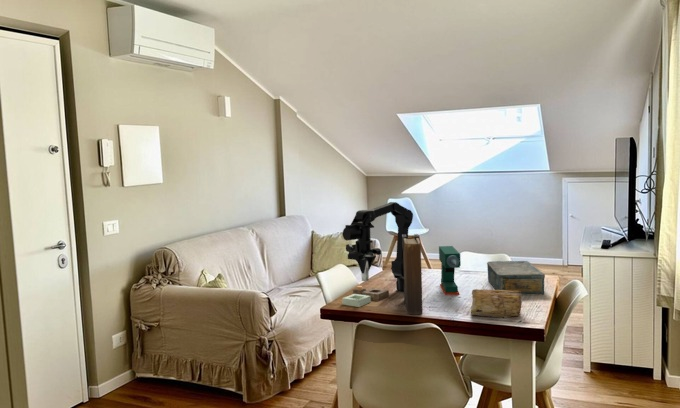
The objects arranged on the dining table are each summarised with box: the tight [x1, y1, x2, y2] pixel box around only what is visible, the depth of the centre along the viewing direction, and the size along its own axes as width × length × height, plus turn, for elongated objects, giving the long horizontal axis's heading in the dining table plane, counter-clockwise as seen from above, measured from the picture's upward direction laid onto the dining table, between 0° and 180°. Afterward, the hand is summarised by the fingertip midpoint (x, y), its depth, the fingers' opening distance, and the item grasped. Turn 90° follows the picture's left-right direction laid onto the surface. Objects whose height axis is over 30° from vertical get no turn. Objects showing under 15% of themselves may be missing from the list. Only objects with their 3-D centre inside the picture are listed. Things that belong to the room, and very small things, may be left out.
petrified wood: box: [470, 288, 523, 318], centre depth 219 cm, size 19×13×10 cm
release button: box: [355, 285, 364, 290], centre depth 259 cm, size 3×3×4 cm
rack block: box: [341, 293, 371, 308], centre depth 244 cm, size 9×9×3 cm
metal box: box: [486, 260, 546, 295], centre depth 263 cm, size 21×32×10 cm, turn 175°
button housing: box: [352, 287, 367, 295], centre depth 259 cm, size 4×4×3 cm
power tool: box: [438, 245, 462, 296], centre depth 254 cm, size 32×7×20 cm, turn 177°
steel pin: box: [361, 260, 370, 282], centre depth 248 cm, size 3×3×9 cm
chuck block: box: [362, 287, 390, 301], centre depth 253 cm, size 9×9×3 cm
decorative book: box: [402, 233, 424, 315], centre depth 233 cm, size 23×7×30 cm, turn 176°
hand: (365, 272), depth 248 cm, fingers closed on steel pin, 3 cm apart
